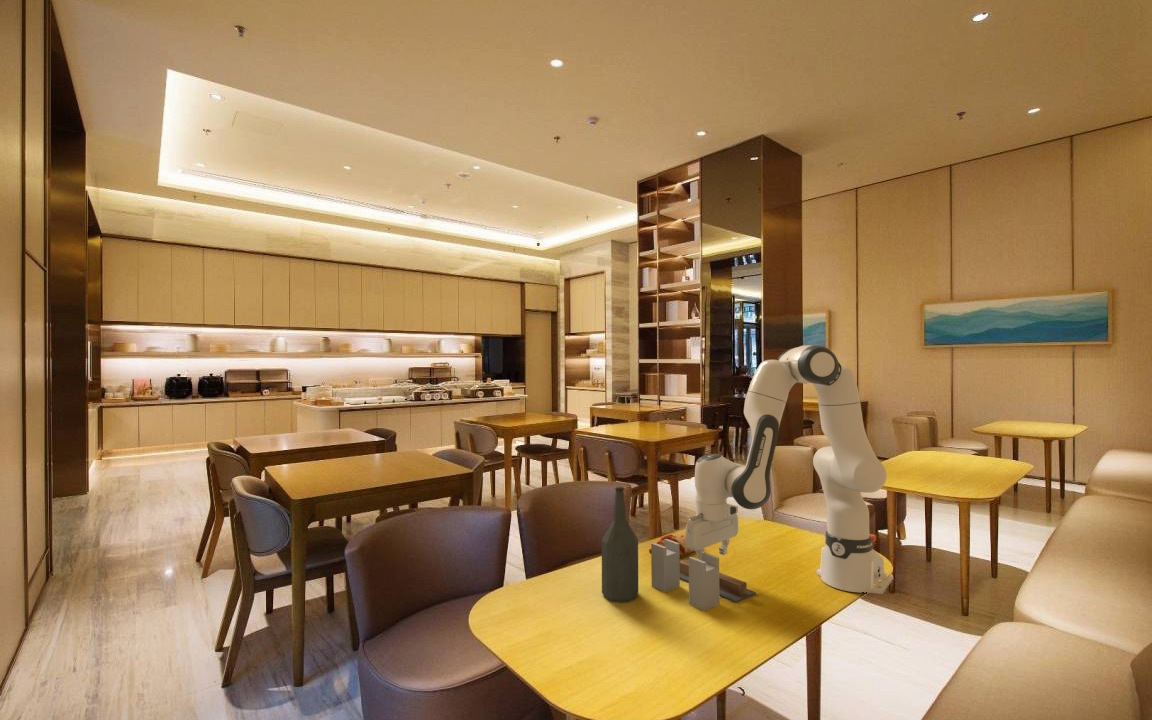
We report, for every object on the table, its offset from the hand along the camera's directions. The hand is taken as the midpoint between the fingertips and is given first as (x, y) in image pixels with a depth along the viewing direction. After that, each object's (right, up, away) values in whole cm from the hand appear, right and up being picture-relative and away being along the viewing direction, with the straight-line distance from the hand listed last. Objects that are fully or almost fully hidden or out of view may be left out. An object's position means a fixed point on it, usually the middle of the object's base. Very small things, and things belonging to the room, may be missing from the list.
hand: (713, 558), depth 152 cm
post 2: (-6, -8, -13) cm, 16 cm away
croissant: (-6, -8, +25) cm, 27 cm away
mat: (-1, -8, 0) cm, 8 cm away
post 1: (-14, -8, -1) cm, 16 cm away
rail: (-1, -7, 0) cm, 7 cm away
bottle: (-28, -8, -7) cm, 30 cm away
